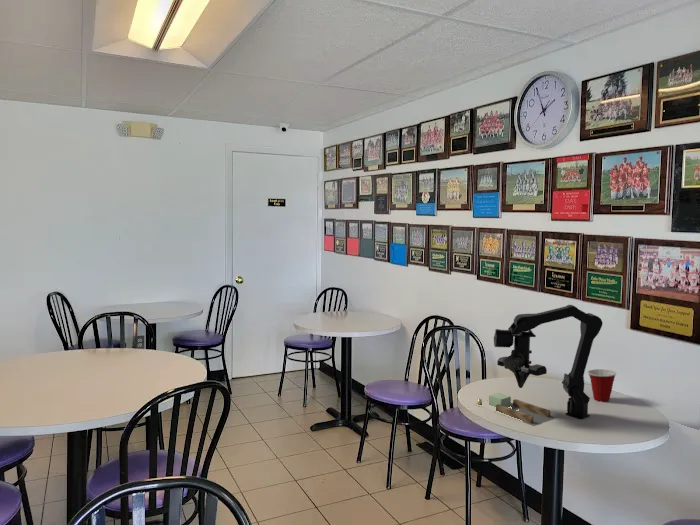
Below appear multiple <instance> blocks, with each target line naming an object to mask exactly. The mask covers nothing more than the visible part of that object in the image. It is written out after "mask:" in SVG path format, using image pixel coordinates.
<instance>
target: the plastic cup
mask: <svg viewBox="0 0 700 525" xmlns="http://www.w3.org/2000/svg"><path fill="white" fill-rule="evenodd" d="M587 373H588V375H589V379H590V384H591V391H592V395H593V400H594V399H595V401H596V400H597V402H600V401H602V402H601V403H608V402H609V401H610V399H611V394H612V391H613V390H612V389H613V384H614V381H615V377H616V375H617V373H616V371H614V370H611V369H610V370H609V369H604V368H603V369H601V368H599V369H597V368H596V369H595V368H594V369H589V370H587ZM607 401H608V402H607Z"/></svg>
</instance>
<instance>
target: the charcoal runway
mask: <svg viewBox="0 0 700 525" xmlns="http://www.w3.org/2000/svg"><path fill="white" fill-rule="evenodd" d="M511 407H512V409H514V410H518V409H519V412H522V413H525V414H528V415H531V416H533V423H531V424H530V423H528V422H525V421H523V422H522V423H525V424H526V425H530V426H533V427H535V426H537V425H541V424H543V423H546V422H547V423H548V422H550V421H553V420H555V419H557V417H556V416H553V415H550V417H545V416H542V415H539V414H536V413H533V412H530V411H527V410H524V409H521V408H518V407H515V406H513V402H511ZM519 422H521V421H520V420H519Z"/></svg>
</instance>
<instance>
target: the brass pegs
mask: <svg viewBox="0 0 700 525" xmlns="http://www.w3.org/2000/svg"><path fill="white" fill-rule="evenodd" d="M482 402H483V399H481V398H477V404H478V405H482Z"/></svg>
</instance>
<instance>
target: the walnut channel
mask: <svg viewBox="0 0 700 525" xmlns="http://www.w3.org/2000/svg"><path fill="white" fill-rule="evenodd" d="M512 403H513V406H515V407H518V408H521V409H524V410H527V411H530V412H533V413H536V414H539V415H542V416H545V417H550V416H551V412H552V411H551V410H550V409H547V408H544V407H540V406H538V405H536V404H535V405H534V404H531V403H529V402H525V401H522V400H519V399H513V400H512ZM496 411H499V412H501V413H504V414H506V415H509V416H511V417H514V418H517V419H520V420H522V421H525V422H528V423H530V424H531V423H533V416H531V415H528V414H525V413H522V412H519V411H516V410H514V409H511V408H508V407H505V406H502V405H499V404H498V405H496Z"/></svg>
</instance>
